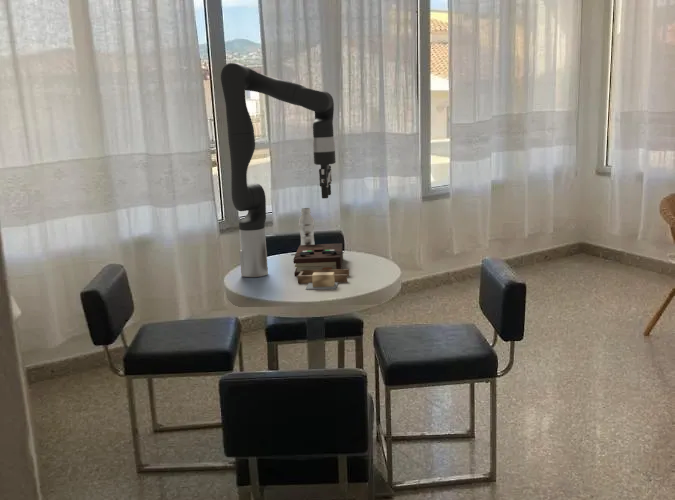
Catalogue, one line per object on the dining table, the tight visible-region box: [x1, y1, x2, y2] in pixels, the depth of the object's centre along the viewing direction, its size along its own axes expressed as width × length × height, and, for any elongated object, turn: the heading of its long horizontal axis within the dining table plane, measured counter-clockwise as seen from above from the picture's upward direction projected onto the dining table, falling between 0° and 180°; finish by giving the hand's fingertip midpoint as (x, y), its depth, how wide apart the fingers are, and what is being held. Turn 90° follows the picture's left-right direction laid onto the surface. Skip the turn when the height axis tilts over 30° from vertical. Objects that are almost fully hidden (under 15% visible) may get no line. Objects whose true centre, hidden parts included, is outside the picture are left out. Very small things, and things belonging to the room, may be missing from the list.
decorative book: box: [290, 243, 345, 277], centre depth 267 cm, size 19×8×30 cm
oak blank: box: [312, 272, 335, 287], centre depth 239 cm, size 7×4×4 cm, turn 84°
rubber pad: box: [305, 282, 339, 291], centre depth 239 cm, size 10×8×1 cm
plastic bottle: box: [298, 207, 316, 245], centre depth 282 cm, size 6×7×20 cm
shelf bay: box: [297, 268, 350, 284], centre depth 248 cm, size 17×9×2 cm, turn 84°
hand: (326, 196), depth 250 cm, fingers open, 8 cm apart
